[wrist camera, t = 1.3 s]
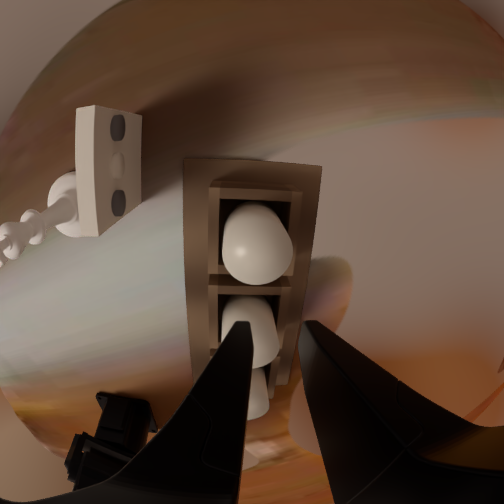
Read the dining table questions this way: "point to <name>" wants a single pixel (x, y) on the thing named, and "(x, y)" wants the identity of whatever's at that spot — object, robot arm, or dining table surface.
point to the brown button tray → (211, 243)
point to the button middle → (253, 324)
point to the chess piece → (43, 220)
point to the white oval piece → (255, 244)
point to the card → (106, 166)
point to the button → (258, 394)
